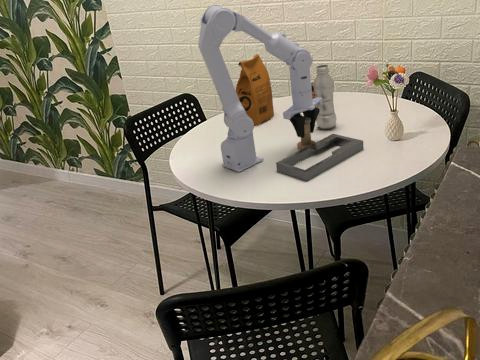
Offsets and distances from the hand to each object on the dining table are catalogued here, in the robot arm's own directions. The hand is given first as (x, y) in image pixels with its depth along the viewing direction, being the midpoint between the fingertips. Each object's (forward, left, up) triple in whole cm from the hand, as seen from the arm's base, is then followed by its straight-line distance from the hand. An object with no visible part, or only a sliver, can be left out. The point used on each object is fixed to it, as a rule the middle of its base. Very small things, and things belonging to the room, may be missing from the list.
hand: (305, 134), depth 151 cm
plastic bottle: (+15, +5, -4) cm, 16 cm away
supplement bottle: (+22, +16, -4) cm, 28 cm away
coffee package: (+9, +32, -4) cm, 34 cm away
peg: (0, 0, -4) cm, 4 cm away
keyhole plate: (-4, -10, -4) cm, 11 cm away
